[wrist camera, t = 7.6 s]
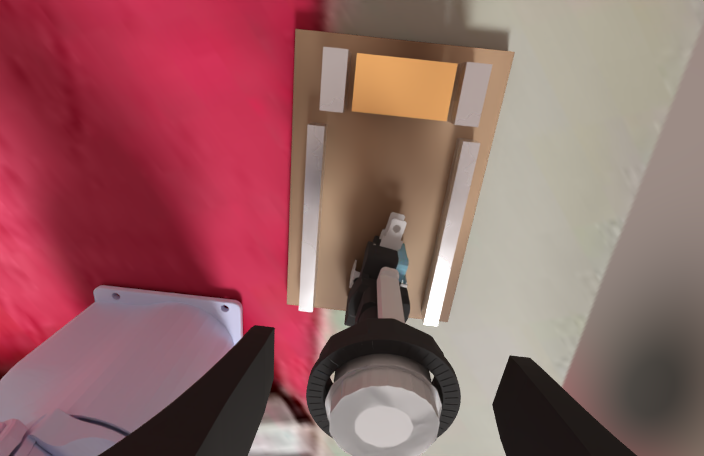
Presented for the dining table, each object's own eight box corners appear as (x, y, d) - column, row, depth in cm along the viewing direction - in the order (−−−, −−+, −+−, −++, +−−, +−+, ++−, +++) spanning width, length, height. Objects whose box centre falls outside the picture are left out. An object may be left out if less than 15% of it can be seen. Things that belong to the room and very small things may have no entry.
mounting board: (289, 296, 22) (286, 304, 22) (298, 31, 17) (295, 28, 16) (444, 314, 22) (447, 322, 22) (508, 53, 17) (514, 51, 16)
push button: (352, 197, 19) (334, 306, 10) (445, 223, 19) (516, 354, 10) (322, 297, 21) (286, 461, 12) (405, 319, 22) (432, 494, 12)
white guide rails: (302, 299, 21) (294, 326, 19) (315, 50, 16) (305, 44, 14) (433, 313, 21) (441, 342, 19) (489, 69, 16) (510, 66, 14)
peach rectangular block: (353, 108, 16) (351, 111, 15) (358, 56, 15) (356, 52, 14) (439, 118, 16) (446, 121, 15) (449, 65, 15) (457, 63, 14)
